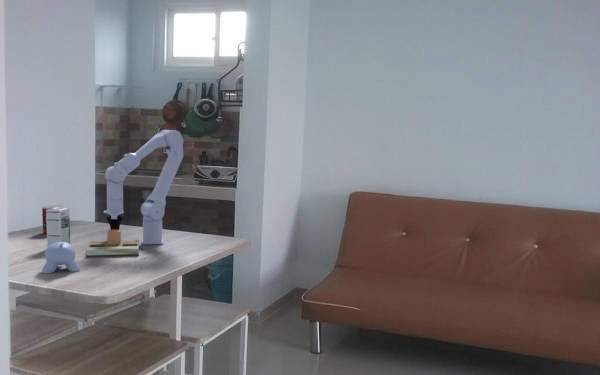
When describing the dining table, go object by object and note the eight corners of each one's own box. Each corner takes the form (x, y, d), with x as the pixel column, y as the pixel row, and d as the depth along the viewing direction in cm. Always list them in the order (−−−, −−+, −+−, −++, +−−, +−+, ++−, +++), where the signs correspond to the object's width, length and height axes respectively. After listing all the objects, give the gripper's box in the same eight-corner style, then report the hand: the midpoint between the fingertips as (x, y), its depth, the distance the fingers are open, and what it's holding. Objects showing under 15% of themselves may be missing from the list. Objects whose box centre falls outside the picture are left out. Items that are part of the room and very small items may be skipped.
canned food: (38, 233, 244) (38, 206, 242) (52, 230, 251) (51, 204, 250) (54, 235, 241) (54, 208, 240) (67, 232, 249) (67, 205, 248)
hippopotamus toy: (77, 262, 197) (77, 233, 196) (81, 273, 184) (80, 242, 183) (42, 264, 193) (41, 235, 192) (42, 276, 179) (42, 244, 178)
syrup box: (61, 250, 215) (60, 209, 213) (46, 249, 216) (45, 208, 214) (70, 247, 220) (70, 207, 219) (56, 246, 221) (55, 206, 220)
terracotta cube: (108, 241, 219) (108, 229, 218) (121, 241, 220) (121, 229, 220) (107, 244, 215) (107, 231, 214) (120, 244, 216) (120, 231, 215)
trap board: (90, 247, 220) (90, 240, 220) (138, 246, 225) (138, 239, 224) (86, 257, 205) (86, 249, 205) (138, 255, 209) (138, 248, 209)
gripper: (104, 196, 228) (104, 232, 229) (102, 201, 214) (102, 239, 215) (124, 196, 230) (124, 231, 231) (122, 201, 216) (123, 239, 217)
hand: (115, 235), depth 223 cm, fingers closed
